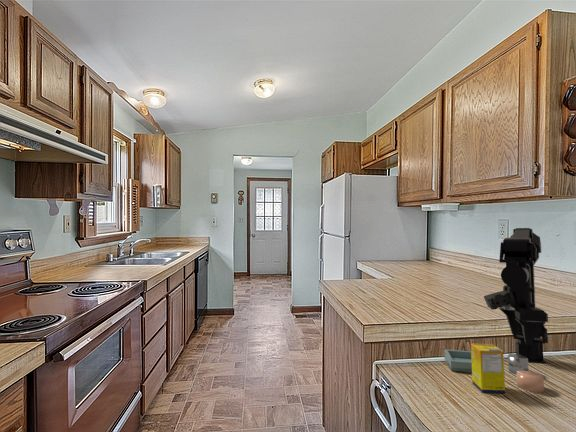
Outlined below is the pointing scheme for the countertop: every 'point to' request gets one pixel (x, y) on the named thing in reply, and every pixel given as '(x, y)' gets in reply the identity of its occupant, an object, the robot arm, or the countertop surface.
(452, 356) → the tray
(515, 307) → the robot arm
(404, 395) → the countertop surface
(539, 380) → the peach egg-shaped pebble
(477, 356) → the supplement box
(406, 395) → the countertop surface
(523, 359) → the tin
